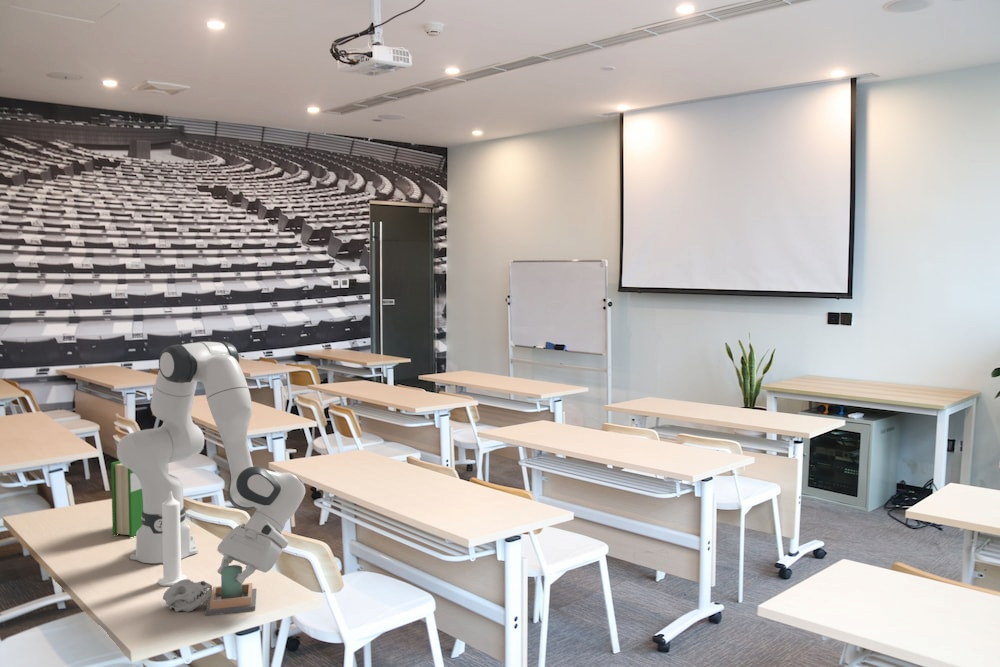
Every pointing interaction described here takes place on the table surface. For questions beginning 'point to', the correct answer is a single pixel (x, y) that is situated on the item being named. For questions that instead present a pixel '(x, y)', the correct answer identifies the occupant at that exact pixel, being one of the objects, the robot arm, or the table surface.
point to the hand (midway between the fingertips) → (229, 577)
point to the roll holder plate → (231, 601)
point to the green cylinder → (230, 582)
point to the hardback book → (126, 500)
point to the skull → (187, 595)
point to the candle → (171, 542)
